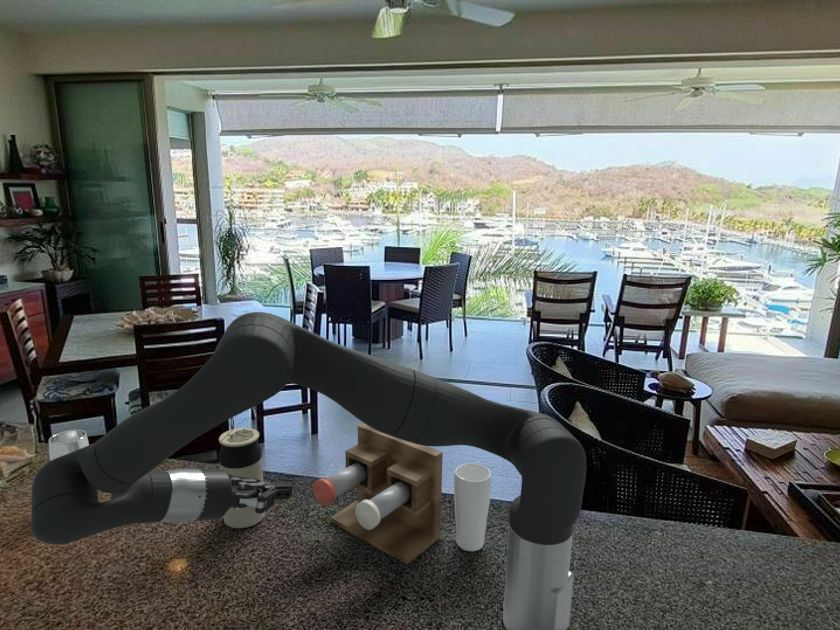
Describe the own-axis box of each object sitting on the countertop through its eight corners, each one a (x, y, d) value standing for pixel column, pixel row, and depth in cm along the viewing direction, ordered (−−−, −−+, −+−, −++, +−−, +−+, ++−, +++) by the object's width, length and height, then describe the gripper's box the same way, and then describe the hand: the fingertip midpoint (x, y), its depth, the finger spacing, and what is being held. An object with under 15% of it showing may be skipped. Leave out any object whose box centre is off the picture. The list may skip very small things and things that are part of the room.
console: (440, 537, 102) (442, 451, 98) (407, 564, 94) (408, 473, 90) (365, 499, 114) (364, 422, 110) (330, 521, 106) (328, 439, 102)
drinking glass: (486, 558, 96) (490, 483, 93) (449, 552, 98) (452, 479, 94) (489, 535, 103) (492, 465, 99) (454, 530, 104) (457, 461, 101)
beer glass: (60, 497, 113) (50, 432, 110) (98, 490, 116) (89, 426, 113) (54, 514, 107) (43, 446, 104) (94, 506, 110) (85, 440, 107)
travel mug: (272, 509, 110) (268, 429, 106) (251, 532, 103) (245, 447, 98) (238, 503, 112) (232, 424, 108) (215, 526, 104) (208, 442, 100)
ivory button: (412, 507, 97) (413, 483, 96) (375, 534, 89) (375, 508, 88) (393, 498, 100) (393, 475, 98) (355, 523, 92) (354, 498, 91)
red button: (369, 486, 103) (368, 464, 102) (330, 509, 96) (330, 486, 94) (351, 478, 106) (351, 456, 105) (313, 500, 98) (312, 477, 97)
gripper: (217, 482, 75) (316, 480, 87) (180, 458, 84) (274, 459, 97) (204, 536, 74) (306, 526, 87) (168, 505, 84) (265, 500, 96)
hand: (289, 491), depth 92 cm, fingers closed
